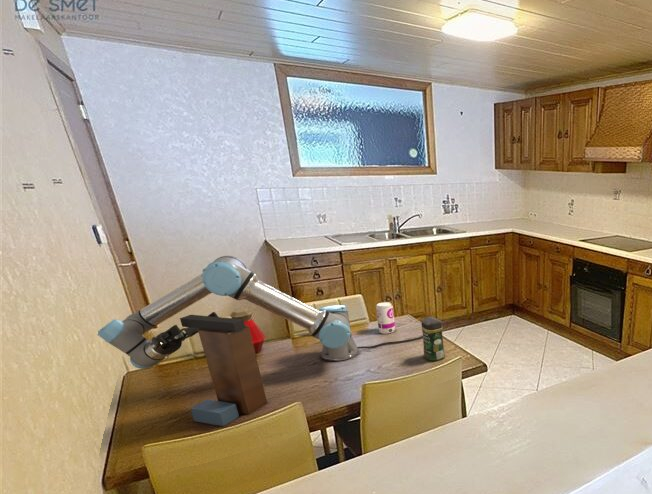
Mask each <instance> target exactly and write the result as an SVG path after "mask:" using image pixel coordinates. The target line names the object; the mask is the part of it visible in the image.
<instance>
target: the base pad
mask: <svg viewBox="0 0 652 494" xmlns="http://www.w3.org/2000/svg"><path fill="white" fill-rule="evenodd" d="M190 411H191V415H192V417H193V421H194V422H198V423H202V424H203V423H204V424H207V425H208V424H209V425H215V426H221V427H224V426H226V425H228V424H230V423H231V422H233V421H235V420H236V419H237V418H239V417H240V415H239V414H240V413H238V410H237V407H236V404H233V403H226V402H220V401H218V400H214V399H205V400H203V401H201V402H200V403H197V404H196V405H193V406H192V407H190Z"/></svg>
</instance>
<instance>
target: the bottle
mask: <svg viewBox="0 0 652 494" xmlns="http://www.w3.org/2000/svg"><path fill="white" fill-rule="evenodd" d="M252 315H253V311H252V310H250V309H248V308H246V307H243V308H242V307H241V308H240V307H239V308H235V309H234V310H233V311H232V312H231V313H230V315H229V316H230V318H233V319H243V320H244V323H245V325H248V326H249V329H250V333H251V337H252V341H253V346H254V350H255V354H258V353H260V352H261V350H262V348H263V344H264V341H265V338H266V335H265V334H264V333H263V331H262V330H261V329H260V328H259V326H258V324H256V322H255V321H254V319H253V318H252Z"/></svg>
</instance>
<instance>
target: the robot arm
mask: <svg viewBox="0 0 652 494" xmlns="http://www.w3.org/2000/svg"><path fill="white" fill-rule="evenodd" d="M211 294H214V295H217V296H221V297H230V298H232V299H234V300H235V301H241V300H246V301H247V302H250V303H251V304H254V305H256V306H258V307H260V308H262V309H264V310H266V311H268V312H270V313H272V314H274V315H276V316H278V317H281V318H283V319H285V320H286V321H289V322H291V323H293V324H295V325H297V326H299V327H301V328H303V329H305V330H307V331H308V335H310V336H311V337H312V338H315V339H317V340H319V342H320V343H321V344H322V348H321V359H323V360H324V361H328V362H341V361H342V362H343V361H346V360H349V359H352V358H354V357H356V356H357V355H358V354H359V349H373V348H378V347H380V346H384V345H390V344H391V345H392V344H400V343H401V344H402V343H408V342H412V341H418V340H420V339H423V335H421V336H418V337H414V338H410V339H403V340H397V341H396V340H394V341H385V342H381V343H377V344H375V345H369V346H366V345H365V346H364V345H363V346H358V345H357V343H356V342H355V340H354V338H353V336H352V330H351V322H350V316H349V309H348V306H346V305H343V304H336V305H334V304H333V305H327V306H323V307H320V308H318V310H317V309H316V308H314V307H312V306H310V305H308V304H306V303H304V302H302V301H300V300H299V299H296V298H294V297H292V296H290V295H288V294H286V293H284V292H283V291H281V290H279V289H277V288H274V287H273V286H271V285H269V284H267V283H265V282H263V281H261V280H259V279H258V277H257V274H256V273H254V272H253V271H251V270H249V269H248V267H247V264H246V262H244V261H243V260H242V259H240V258H239V257H237V256H233V255H222V256H219V257H217V258H216V259H214V260H213V261H212V262H210V263H209V264H207V266H206V267H205V268H203V269H202V273H200V274H198V275H197V276H195V277H194V278H192V279H190V280H189V281H187V282H185V283H183V284H182V285H180V286H178V287H177V288H175V289H173V290H171V291H170V292H168V293H167V294H164V295H163V296H161V297H160V298H158V299H156V300H154V301H153V302H151V303H149V304H148V305H146V306H144V307H142V308H141V309H139V310H138V311H136V312H134V313H130V315H128V316H127V317H125V318H124V319H123V320H122V321H121V320H120V319H116V318H115V319H112V320H111V321H109V322H107V324H105V325H104V326H103V327H102V328H100V329H99V330H98V331H97V332H98V334H97V336H98V337H100V338H101V339H102V340H104V341H105V342H106V343H108V344H109V345H111V346H113V347H114V348H115V349H117V350H119V351H120V352H122V353H123V354H125V355H127V356H128V357H129V361H130V363H131V365H132V366H133V367H134V368H137V369H139V370H146V369H150V368H152V367H154V366H157V365H158V364H159V363H161V362H162V361H163V360H165V359H166V360H167V359H169V356H171V355H172V354H174V353H175V352H176V351H179V350H180V348H181V347H182V345H183V342H184V341H185V340H186V339H189V338H191V337H193V336H195V335H196V334H199V332H198V330H201V328H191V327H182V328H181V329H180V327H179V326H178V325H177V324H174V325H172V326H171V327H170V328H168V329H167V330H166V331H163V332H160V333H159V334H157V335H156V336H153V337H152V338H151V339H150V340H149V339H147V338H146V337H145V336H143V335H145V333H148V332H149V331H150V330H152V329H154V328H156V327H157V326H158V325H160V324H162V323H163V322H165V321H166V320H168V319H170V318H172V317H174V316H175V315H177V314H179V313H180V312H182V311H184V310H185V309H187V308H188V307H190V306H192V305H194V304H196V303H197V302H199V301H201V300H202V299H204V298H206V297H207V296H209V295H211ZM207 316H211V317H219V316H218V314H217V313H216V312H215V311H213V312H211V313H210V314H208V315H207Z"/></svg>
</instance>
